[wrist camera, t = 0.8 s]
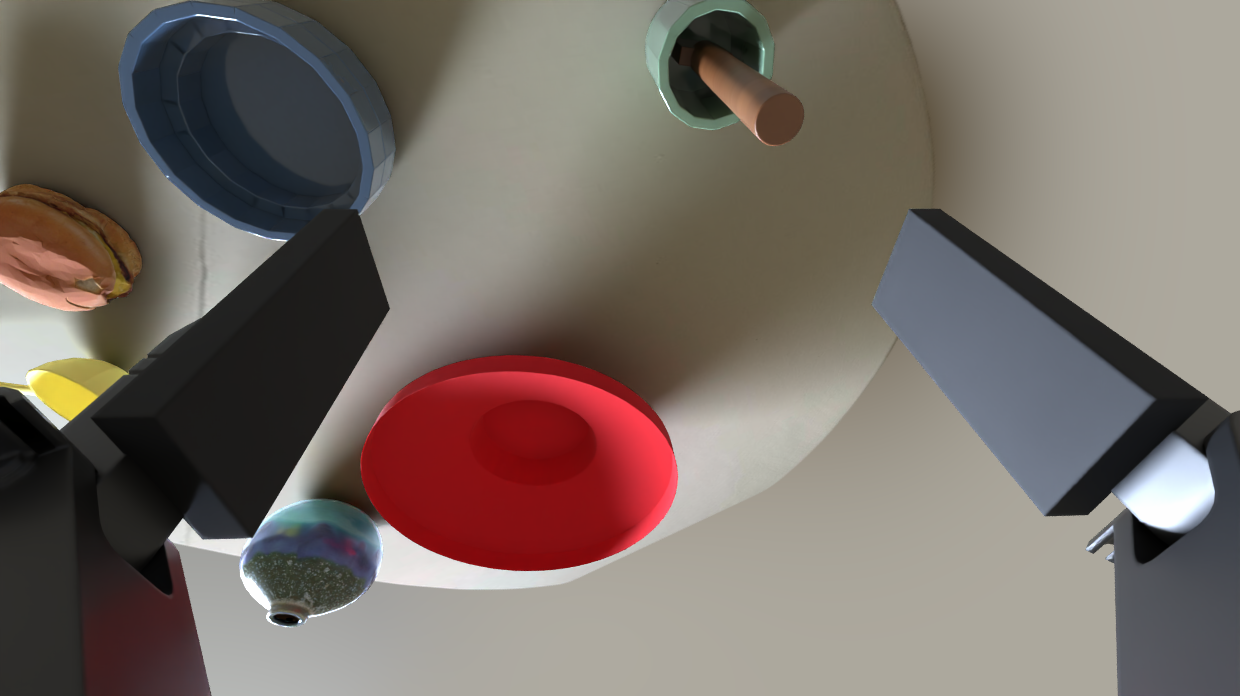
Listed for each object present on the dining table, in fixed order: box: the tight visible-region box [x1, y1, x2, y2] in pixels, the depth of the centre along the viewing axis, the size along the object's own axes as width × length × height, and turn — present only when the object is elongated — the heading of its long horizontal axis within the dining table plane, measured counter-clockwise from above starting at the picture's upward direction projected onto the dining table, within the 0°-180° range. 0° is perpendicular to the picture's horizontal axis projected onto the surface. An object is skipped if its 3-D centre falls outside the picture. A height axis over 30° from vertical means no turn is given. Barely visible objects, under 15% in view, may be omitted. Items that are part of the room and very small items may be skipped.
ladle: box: [0, 358, 129, 421], centre depth 48 cm, size 9×26×6 cm, turn 82°
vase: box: [240, 499, 383, 627], centre depth 61 cm, size 15×15×13 cm
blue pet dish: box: [118, 0, 396, 241], centre depth 34 cm, size 14×14×6 cm
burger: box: [0, 184, 142, 311], centre depth 39 cm, size 10×9×5 cm
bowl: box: [360, 355, 678, 571], centre depth 52 cm, size 30×30×10 cm
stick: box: [671, 38, 804, 146], centre depth 26 cm, size 2×3×20 cm, turn 83°
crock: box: [645, 0, 775, 130], centre depth 31 cm, size 6×6×9 cm
